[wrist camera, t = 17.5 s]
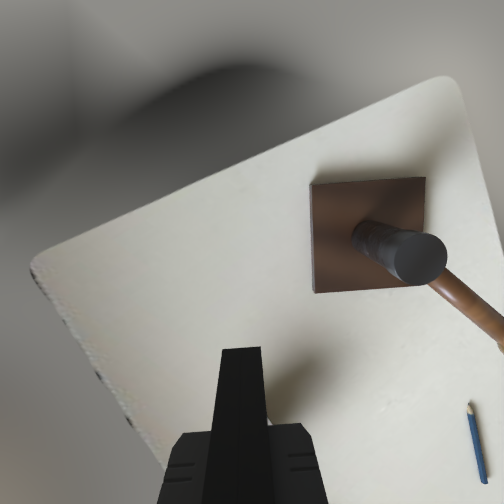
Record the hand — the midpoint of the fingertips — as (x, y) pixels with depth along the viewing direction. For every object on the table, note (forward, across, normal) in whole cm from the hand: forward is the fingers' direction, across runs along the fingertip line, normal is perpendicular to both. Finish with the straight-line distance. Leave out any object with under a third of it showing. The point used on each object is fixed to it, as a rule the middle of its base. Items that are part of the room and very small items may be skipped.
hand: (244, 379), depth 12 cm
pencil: (+30, +33, -34) cm, 56 cm away
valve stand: (+29, +16, 0) cm, 33 cm away
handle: (+19, +21, -5) cm, 28 cm away
